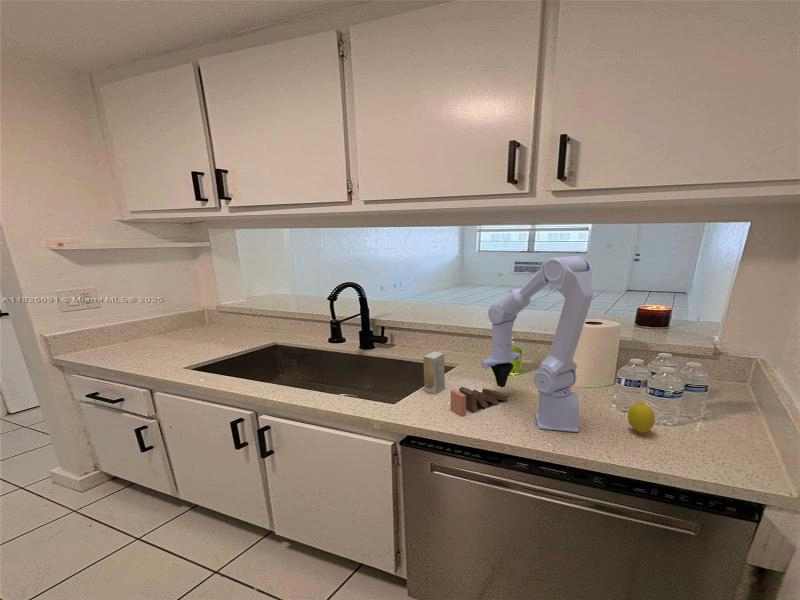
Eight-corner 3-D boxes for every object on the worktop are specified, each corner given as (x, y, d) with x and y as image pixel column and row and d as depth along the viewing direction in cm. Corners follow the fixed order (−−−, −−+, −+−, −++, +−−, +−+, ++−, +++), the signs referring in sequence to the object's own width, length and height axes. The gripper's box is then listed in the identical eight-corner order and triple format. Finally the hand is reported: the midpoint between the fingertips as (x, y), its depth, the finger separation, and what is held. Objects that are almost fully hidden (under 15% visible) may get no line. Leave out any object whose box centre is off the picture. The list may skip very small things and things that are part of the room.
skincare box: (434, 385, 124) (433, 350, 122) (445, 388, 121) (445, 352, 119) (423, 391, 119) (422, 355, 117) (434, 394, 116) (433, 358, 114)
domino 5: (495, 391, 115) (483, 388, 111) (508, 396, 110) (495, 393, 107) (494, 395, 115) (481, 392, 111) (506, 401, 110) (493, 398, 107)
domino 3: (476, 398, 110) (466, 387, 108) (488, 404, 106) (478, 393, 103) (473, 402, 110) (463, 391, 107) (485, 408, 106) (475, 397, 103)
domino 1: (454, 408, 106) (454, 389, 105) (465, 415, 102) (465, 395, 101) (450, 410, 106) (450, 390, 105) (462, 416, 101) (462, 396, 100)
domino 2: (466, 403, 109) (462, 386, 107) (477, 410, 104) (474, 392, 103) (462, 406, 108) (458, 388, 106) (474, 412, 104) (470, 394, 102)
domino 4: (486, 394, 112) (473, 389, 109) (498, 400, 108) (485, 395, 105) (484, 398, 112) (471, 393, 109) (496, 404, 108) (483, 399, 105)
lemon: (621, 427, 93) (623, 398, 92) (642, 426, 93) (644, 397, 92) (637, 439, 88) (639, 408, 86) (658, 437, 88) (661, 406, 87)
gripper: (508, 336, 117) (507, 376, 119) (474, 344, 109) (474, 387, 112) (526, 341, 111) (525, 383, 113) (491, 349, 103) (491, 395, 106)
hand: (501, 385), depth 112 cm, fingers closed
